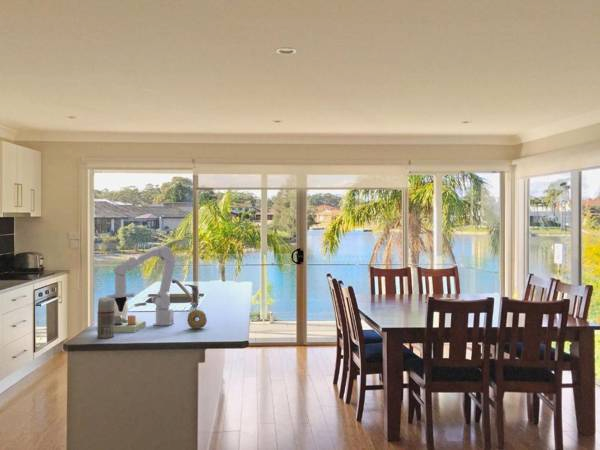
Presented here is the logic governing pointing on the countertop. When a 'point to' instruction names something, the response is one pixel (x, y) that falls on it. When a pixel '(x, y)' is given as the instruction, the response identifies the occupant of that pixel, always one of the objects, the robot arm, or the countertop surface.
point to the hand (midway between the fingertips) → (120, 311)
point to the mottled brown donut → (200, 322)
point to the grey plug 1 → (117, 320)
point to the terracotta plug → (131, 320)
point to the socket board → (130, 327)
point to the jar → (124, 312)
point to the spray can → (105, 317)
